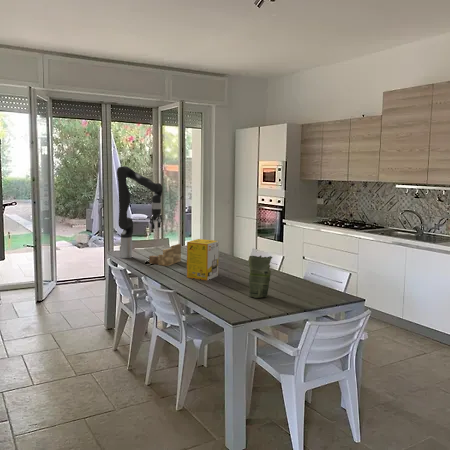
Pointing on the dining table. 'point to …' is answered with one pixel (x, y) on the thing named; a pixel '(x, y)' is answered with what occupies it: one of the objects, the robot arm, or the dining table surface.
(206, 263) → the packaging box
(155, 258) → the brown rectangular block
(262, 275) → the green vase
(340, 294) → the dining table surface
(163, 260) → the light wood notched block
